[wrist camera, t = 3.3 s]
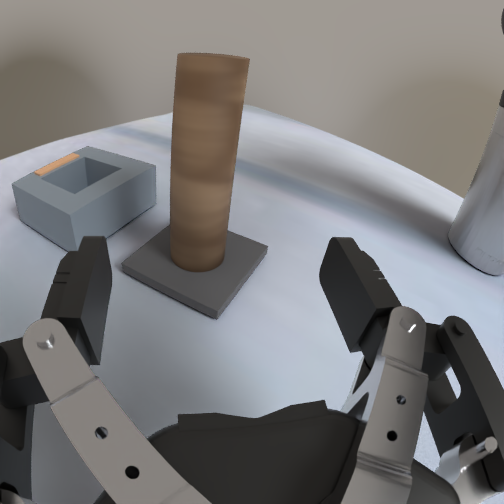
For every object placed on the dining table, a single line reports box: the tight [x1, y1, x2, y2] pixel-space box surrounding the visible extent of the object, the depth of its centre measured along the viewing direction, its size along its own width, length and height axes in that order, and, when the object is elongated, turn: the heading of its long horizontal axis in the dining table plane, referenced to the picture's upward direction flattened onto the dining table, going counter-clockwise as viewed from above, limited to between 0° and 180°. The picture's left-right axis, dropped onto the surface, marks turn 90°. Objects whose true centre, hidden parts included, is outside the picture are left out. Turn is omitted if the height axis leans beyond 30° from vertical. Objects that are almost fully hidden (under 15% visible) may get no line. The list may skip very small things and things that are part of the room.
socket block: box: [12, 146, 156, 252], centre depth 27 cm, size 10×10×4 cm
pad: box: [122, 225, 268, 319], centre depth 24 cm, size 8×8×1 cm
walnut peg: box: [170, 53, 250, 272], centre depth 20 cm, size 4×4×14 cm
